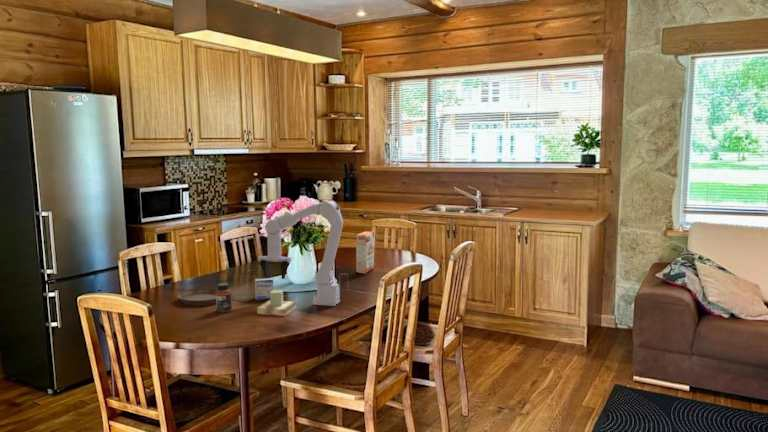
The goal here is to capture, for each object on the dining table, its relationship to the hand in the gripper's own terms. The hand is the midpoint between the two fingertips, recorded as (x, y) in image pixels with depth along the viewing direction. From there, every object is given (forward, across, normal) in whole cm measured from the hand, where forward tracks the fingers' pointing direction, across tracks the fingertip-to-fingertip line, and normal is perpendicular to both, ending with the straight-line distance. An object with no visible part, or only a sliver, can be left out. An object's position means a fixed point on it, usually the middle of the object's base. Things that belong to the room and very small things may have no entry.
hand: (275, 278), depth 252 cm
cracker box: (+11, -24, -65) cm, 70 cm away
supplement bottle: (+11, +15, +18) cm, 26 cm away
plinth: (+10, -6, +13) cm, 18 cm away
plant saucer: (+11, +32, +5) cm, 34 cm away
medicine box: (+11, +7, -4) cm, 13 cm away
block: (+8, -6, +13) cm, 16 cm away
